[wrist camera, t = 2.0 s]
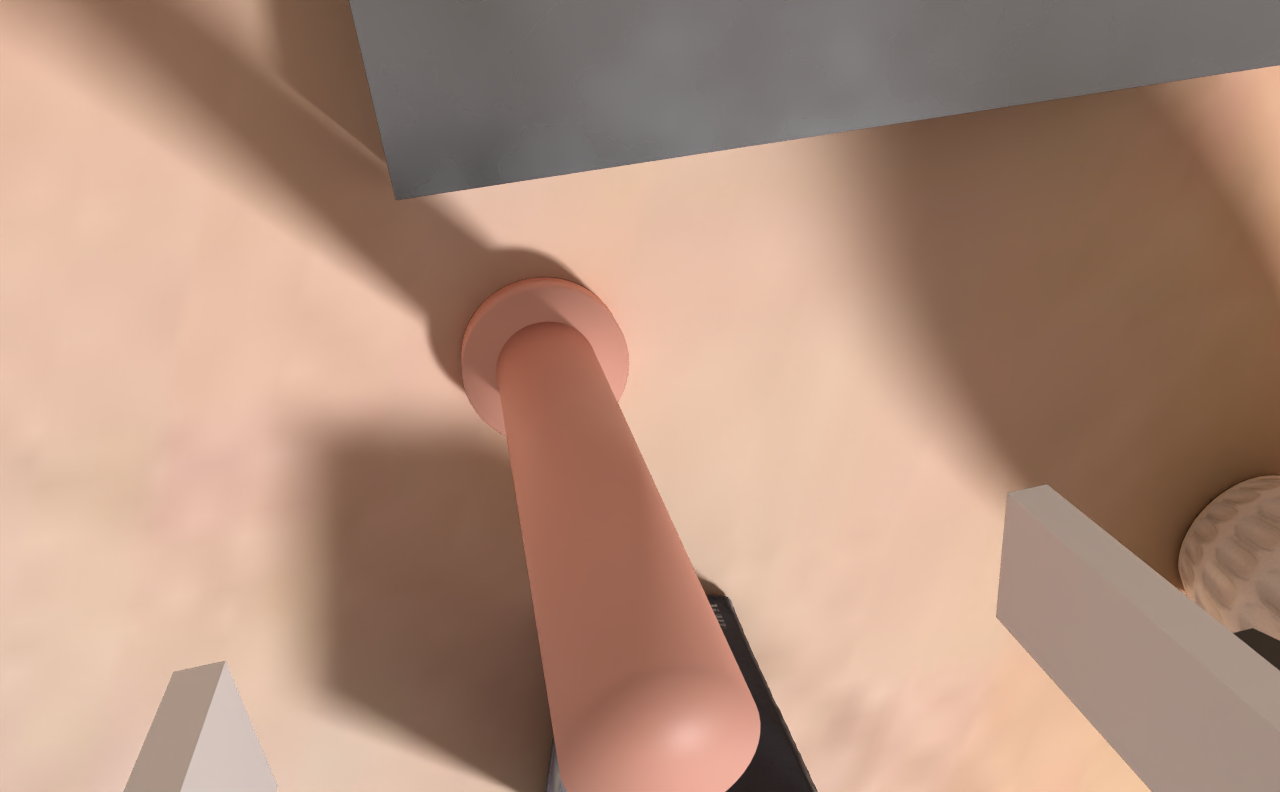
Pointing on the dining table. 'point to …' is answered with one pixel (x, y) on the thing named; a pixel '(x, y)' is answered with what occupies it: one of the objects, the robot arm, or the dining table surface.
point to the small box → (776, 772)
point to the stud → (604, 556)
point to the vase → (1237, 557)
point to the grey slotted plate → (748, 71)
